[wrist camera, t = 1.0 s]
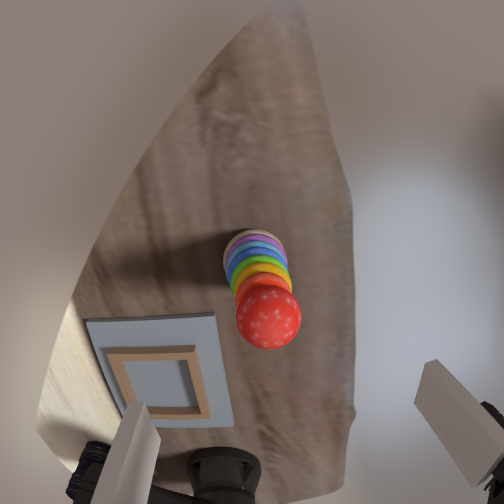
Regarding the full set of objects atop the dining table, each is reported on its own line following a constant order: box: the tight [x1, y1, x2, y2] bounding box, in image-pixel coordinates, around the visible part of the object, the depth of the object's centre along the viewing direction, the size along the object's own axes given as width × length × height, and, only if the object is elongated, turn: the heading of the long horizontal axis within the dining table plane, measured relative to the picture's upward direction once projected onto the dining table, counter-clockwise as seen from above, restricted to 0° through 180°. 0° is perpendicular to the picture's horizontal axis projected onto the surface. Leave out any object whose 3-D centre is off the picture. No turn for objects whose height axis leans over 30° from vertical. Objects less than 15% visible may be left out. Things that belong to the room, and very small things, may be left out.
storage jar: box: [66, 441, 111, 501], centre depth 40 cm, size 10×10×15 cm
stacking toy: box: [223, 229, 301, 349], centre depth 29 cm, size 8×8×19 cm
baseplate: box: [86, 312, 234, 428], centre depth 40 cm, size 22×20×3 cm
